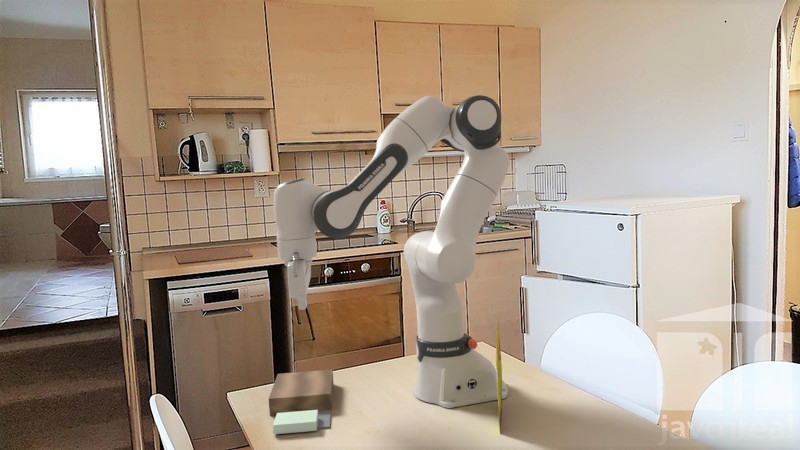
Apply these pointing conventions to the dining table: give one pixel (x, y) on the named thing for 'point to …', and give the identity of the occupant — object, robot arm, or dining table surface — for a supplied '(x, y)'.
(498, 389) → the food package
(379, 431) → the dining table surface
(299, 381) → the board
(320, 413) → the mat
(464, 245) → the robot arm
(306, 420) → the mint green block
